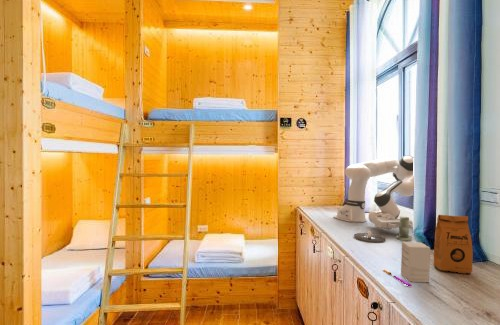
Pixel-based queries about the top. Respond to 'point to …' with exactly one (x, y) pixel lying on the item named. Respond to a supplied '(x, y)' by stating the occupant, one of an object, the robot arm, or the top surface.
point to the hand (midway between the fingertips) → (403, 226)
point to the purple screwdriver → (398, 278)
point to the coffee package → (453, 244)
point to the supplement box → (415, 261)
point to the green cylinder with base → (404, 229)
